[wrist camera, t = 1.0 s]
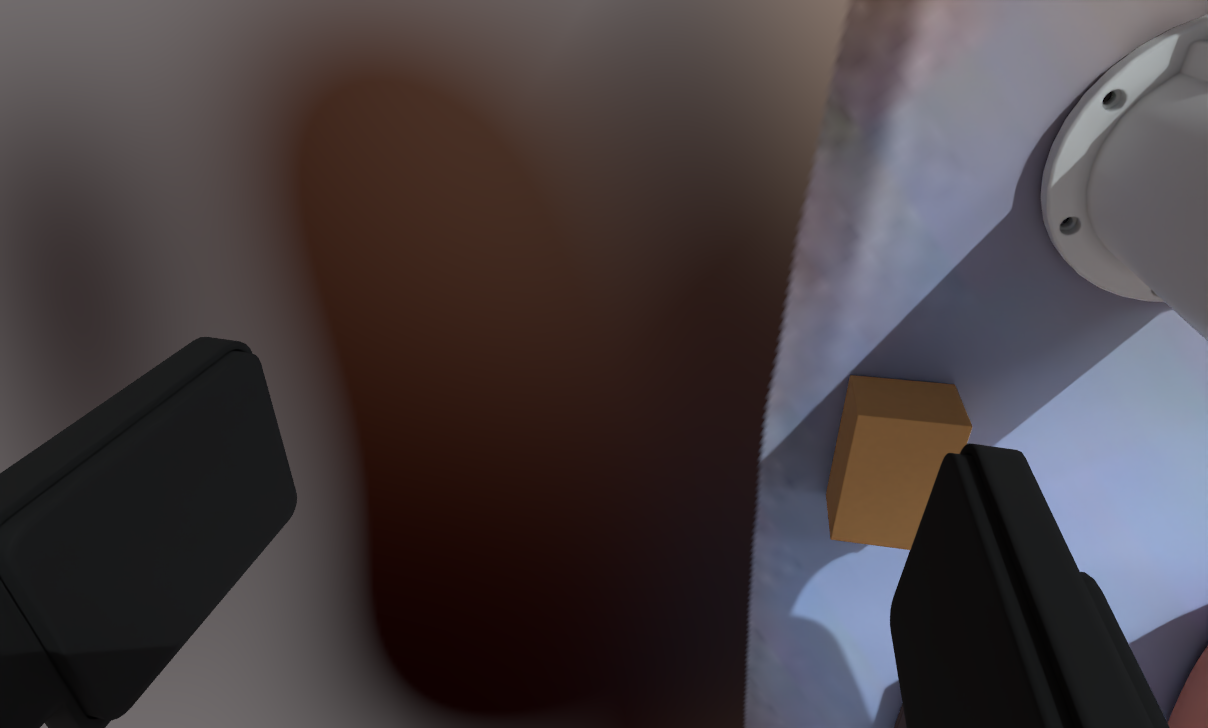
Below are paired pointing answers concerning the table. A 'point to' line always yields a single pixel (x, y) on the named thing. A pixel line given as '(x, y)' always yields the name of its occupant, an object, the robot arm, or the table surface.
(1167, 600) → the table surface
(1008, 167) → the table surface
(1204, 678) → the pink jerry can
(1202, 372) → the table surface
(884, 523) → the tan rectangular block
